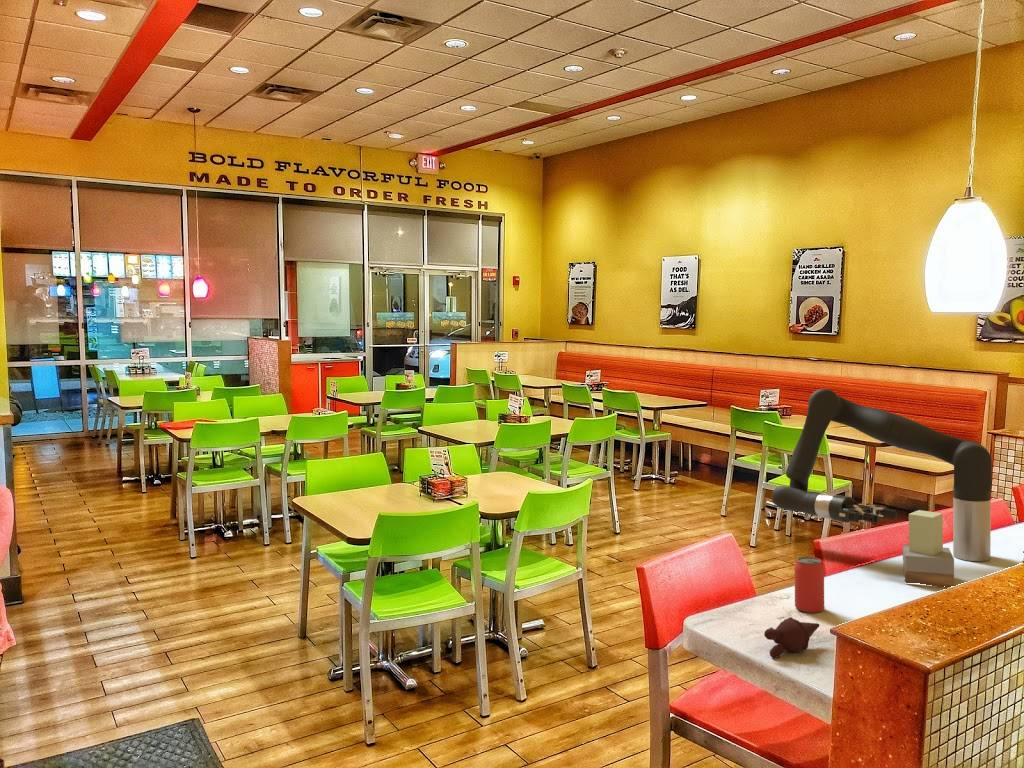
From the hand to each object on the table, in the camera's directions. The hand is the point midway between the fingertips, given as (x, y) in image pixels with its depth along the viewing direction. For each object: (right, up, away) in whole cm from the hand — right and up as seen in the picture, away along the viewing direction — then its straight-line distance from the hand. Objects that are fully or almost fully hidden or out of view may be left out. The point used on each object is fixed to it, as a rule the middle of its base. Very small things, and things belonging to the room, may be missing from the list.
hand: (887, 517), depth 209 cm
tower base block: (+6, -16, -8) cm, 19 cm away
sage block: (+6, -7, -9) cm, 13 cm away
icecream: (-45, -19, -50) cm, 70 cm away
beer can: (-32, -17, -27) cm, 46 cm away
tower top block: (+6, -12, -9) cm, 16 cm away
